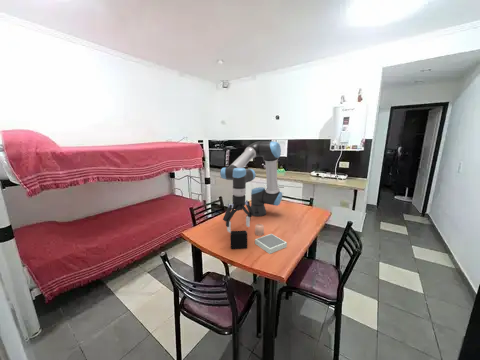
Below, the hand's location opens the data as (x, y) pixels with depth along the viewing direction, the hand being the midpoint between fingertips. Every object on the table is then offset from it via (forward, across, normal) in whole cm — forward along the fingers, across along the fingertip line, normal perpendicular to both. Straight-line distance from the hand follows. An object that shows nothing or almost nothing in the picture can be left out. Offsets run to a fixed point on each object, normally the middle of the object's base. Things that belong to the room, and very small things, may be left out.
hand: (238, 228), depth 121 cm
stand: (+12, +18, -9) cm, 24 cm away
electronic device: (+12, 0, 0) cm, 13 cm away
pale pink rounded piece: (+12, +22, +7) cm, 26 cm away
